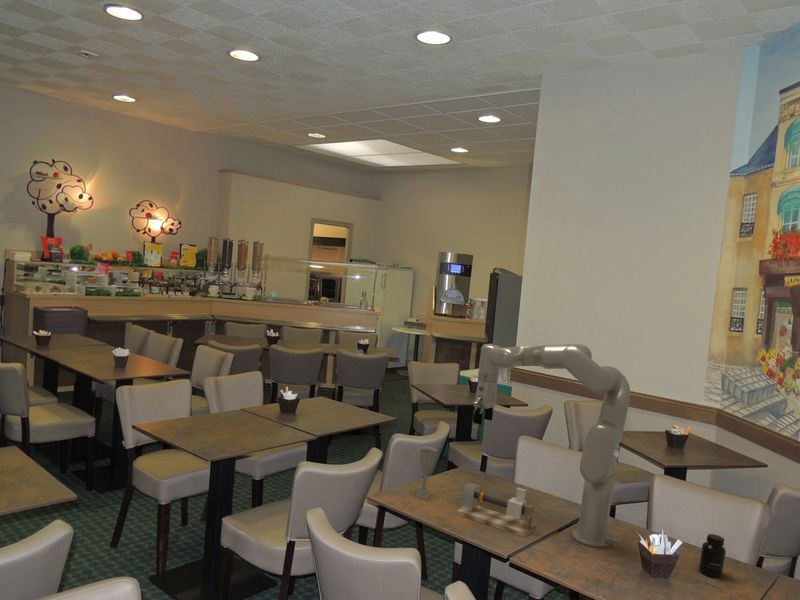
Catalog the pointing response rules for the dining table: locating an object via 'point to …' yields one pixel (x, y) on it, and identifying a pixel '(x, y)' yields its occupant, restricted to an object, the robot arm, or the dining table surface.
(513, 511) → the sleeve
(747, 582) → the dining table surface
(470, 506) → the connector
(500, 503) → the dark grey rod
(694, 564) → the dining table surface
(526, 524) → the beige rod holder
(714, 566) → the supplement bottle
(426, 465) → the chalice
